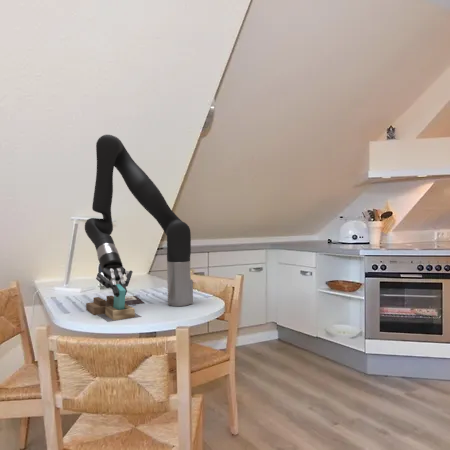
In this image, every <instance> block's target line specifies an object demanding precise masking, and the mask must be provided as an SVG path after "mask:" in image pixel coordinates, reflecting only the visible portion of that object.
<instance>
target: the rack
mask: <svg viewBox="0 0 450 450" xmlns="http://www.w3.org/2000/svg"><path fill="white" fill-rule="evenodd" d="M135 310H136V309H135V308H134V307H132V306H131V305H126V304H125V307H124V309H123V310H117V309H115V308H114V307H112V306H108V307H105V315H106V316H108V317H109V318H111V319H113V320H118V321H121V320H120V319H124V320H127V319H126V318H131V319H134V318H133V317H135V313H136V312H135Z"/></svg>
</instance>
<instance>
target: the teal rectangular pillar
mask: <svg viewBox="0 0 450 450" xmlns="http://www.w3.org/2000/svg"><path fill="white" fill-rule="evenodd" d="M116 285H117V287H118V290H119V296H118V297H116V296H114V295H113V296H114V306H113V307H114V308H115V309H117V310H123V309H124V307H125V296H126V295H127V293H126V290H125V289H124V288H123V287H122V286H121V285H120V284H118V283H116ZM125 294H126V295H125Z"/></svg>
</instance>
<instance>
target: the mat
mask: <svg viewBox="0 0 450 450" xmlns="http://www.w3.org/2000/svg"><path fill="white" fill-rule="evenodd" d="M97 316H98V317H100V318H101V319H103V320H104V321H106V322H108V323H110V322H117V321H123V320H130V319H136V318H142V316H141V315H140V314H138V313H136V312H135V317H133V318H126V319H120V320H113V319H111V318H109V317H108V316H106V315H105V314H100V315H97Z"/></svg>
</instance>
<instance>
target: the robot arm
mask: <svg viewBox="0 0 450 450" xmlns="http://www.w3.org/2000/svg"><path fill="white" fill-rule="evenodd" d="M95 145H96V146H95V150H96V153H95V154H96V176H95V182H94V183H95V184H94V193H93V199H92V204H91V205H92V211H93V212H95V213H97V214H98V213H99V214H101V215H102V218H95V217H91V218H88V219H87V220H86V221H85V223H84V232H85V234H86V235H87V237H88V238H89V240H90V241H91V242H92V243H93V245H94V247H95V250H96V255H97V261H98V262H99V265H100V269H101V272H97V275H96V277H95V280H97V281H98V282H99V283H100V284H101V285H102V286H104V288H106V289H111V290H112V293H113V296H116V297H118V296H119V290H118V287H117V285H116V284H120V285H121V286H122V287H123V288H124V289H125V290H126V294H125V296H127V293H128V289H127V287H128V286H129V283H130V280H131V278H132V275H133V271H132V270H129V271H128V270H126V269H125V267H124V265H123V262H122V259H121V256H120V253H119V251H118V249H117V247H116V244H115V242H114V239H113V237H112V236H111V235H112V233H113V230H114V225H113V219H112V202H113V194H114V182H113V181H114V179H113V177H114V176H113V175H114V169H116V170H117V171H118V172H119V174H120V176H121V177H122V179H123V181H124V184H125V185H126V188H128V190H129V191H130V193H131V194H132V196H134V198H135V199H136V201H137V202H138V203H139V204H140V205H141V206H142V207H143V208H144V210H145V211H147V212H148V213H149V214H150V216H152V217H153V218H154V220H156V221H157V223H158V225H159V226H160V227H161V229H162V231H163V232H164V233H165V235H166V266H167V267H166V271H167V272H166V273H167V275H166V276H167V278H166V279H167V305H168V306H170V307H171V306H172V307H184V306H189V305H192V304H194V286H193V285H194V282H193V281H194V280H193V279H191V278H192V277H191V275H192V274H191V253H192V251H191V250H192V245H191V244H192V241H191V240H192V239H191V238H192V236H191V235H192V234H191V228H190V226H189V225H188V224H187V223H186V222H184V221H183V220H182V219H181V218H179V217H178V215H177V214H176V213H175V212H174V211H173V210H172V209H171V207H170V206H169V204H168V203H167V201H166V199H165V197H164V195H163V194H162V193H161V191H160V190H159V188H158V187H157V185H156V184H155V183H154V181H153V180H152V179H151V178H150V176H148V175H147V173H146V172H145V171H144V170H143V169H142V168H141V167H140V166H139V164H137V163H136V162H135V160H134V159H133V158H132V156H131V155H130V153H129V152H128V150H127V149H126V147H125V146H124V143H123V142H122V141H121V140H120V138H118V137H117V136H114V135H112V134H103V135H101V136H100V137H98V139H97V141H96V143H95ZM124 275H125V277H126V280H124Z"/></svg>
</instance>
